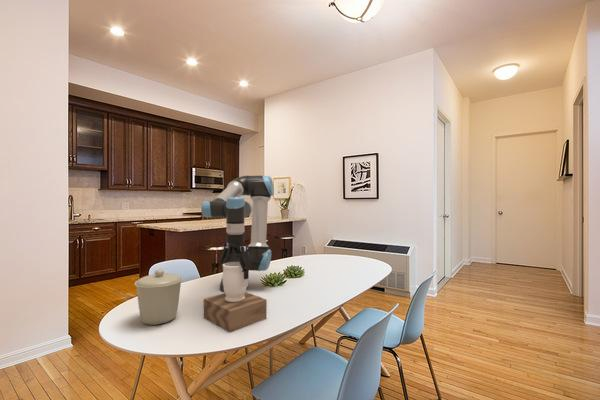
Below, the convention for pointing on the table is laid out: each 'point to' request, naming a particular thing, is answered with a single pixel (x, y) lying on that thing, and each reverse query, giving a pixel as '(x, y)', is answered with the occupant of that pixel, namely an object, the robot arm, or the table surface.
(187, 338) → the table surface
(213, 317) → the walnut box
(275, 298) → the table surface
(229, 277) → the jar
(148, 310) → the canister
